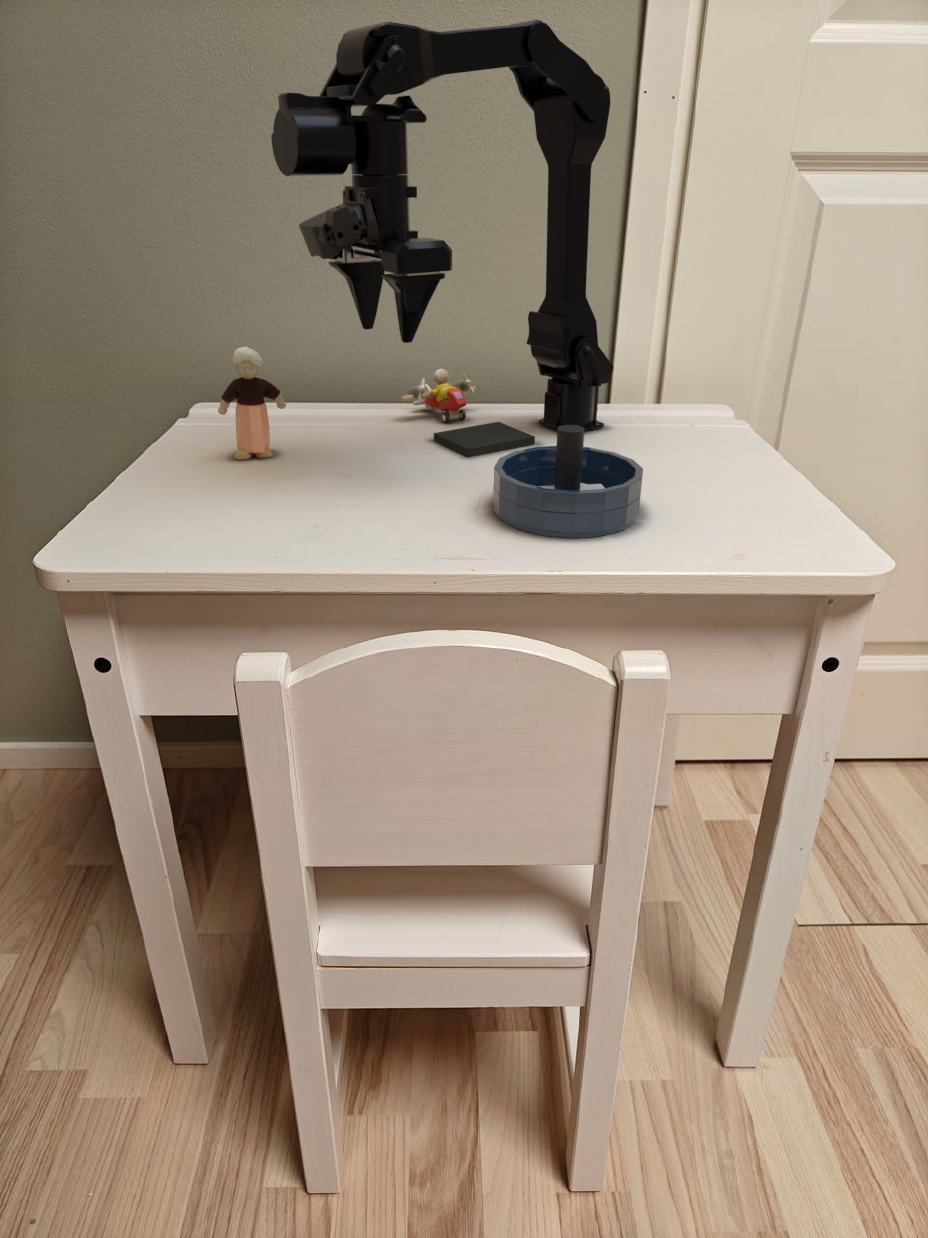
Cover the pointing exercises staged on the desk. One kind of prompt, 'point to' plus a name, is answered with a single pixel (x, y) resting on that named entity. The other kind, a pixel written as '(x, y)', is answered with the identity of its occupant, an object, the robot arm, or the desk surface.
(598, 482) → the bowl
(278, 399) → the grandmother figurine
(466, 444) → the mat
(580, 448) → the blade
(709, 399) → the desk surface
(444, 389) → the toy airplane
